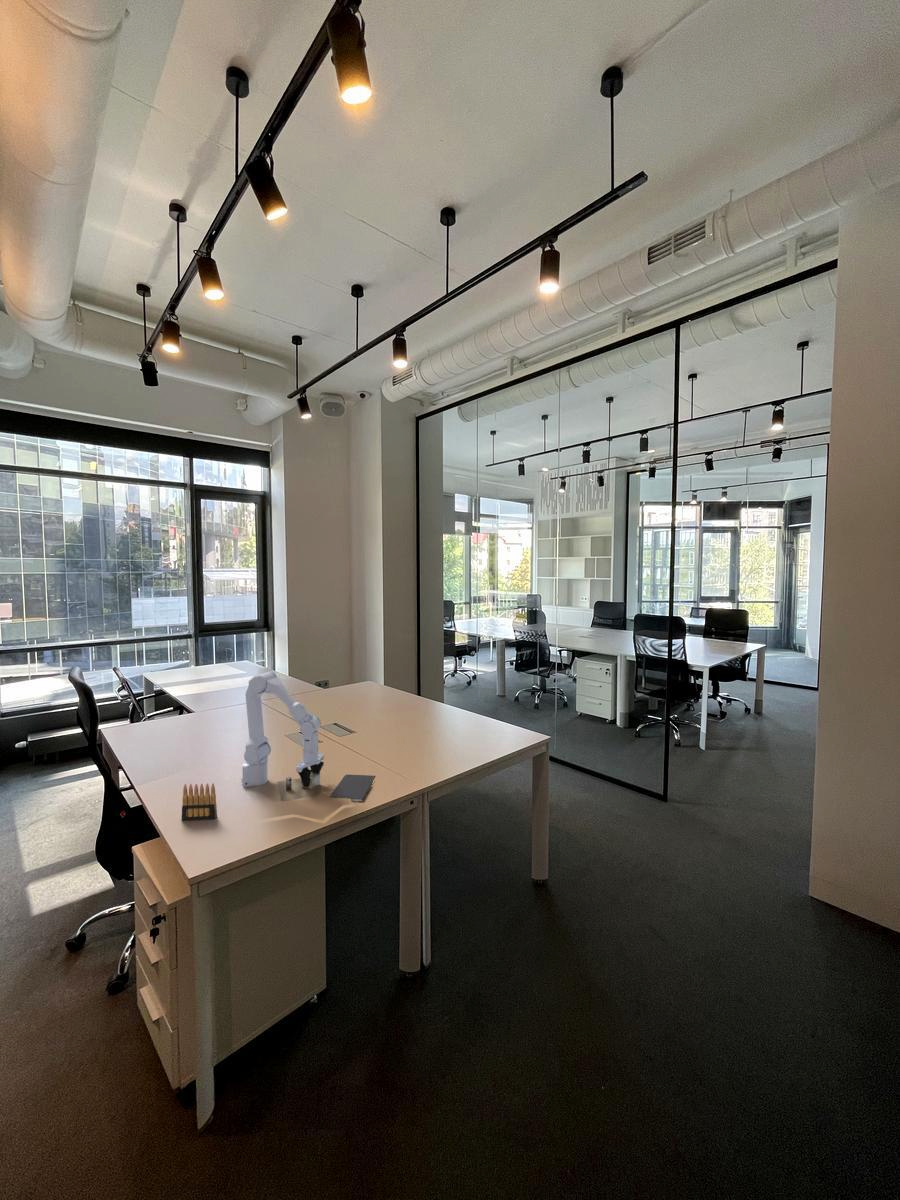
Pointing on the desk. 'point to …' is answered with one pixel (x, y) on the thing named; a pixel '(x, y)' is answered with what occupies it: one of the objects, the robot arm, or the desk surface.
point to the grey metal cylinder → (288, 783)
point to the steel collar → (313, 781)
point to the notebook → (353, 787)
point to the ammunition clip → (199, 804)
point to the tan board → (297, 790)
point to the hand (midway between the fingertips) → (310, 783)
